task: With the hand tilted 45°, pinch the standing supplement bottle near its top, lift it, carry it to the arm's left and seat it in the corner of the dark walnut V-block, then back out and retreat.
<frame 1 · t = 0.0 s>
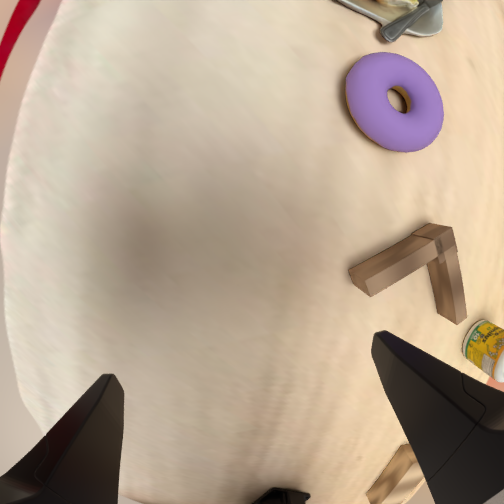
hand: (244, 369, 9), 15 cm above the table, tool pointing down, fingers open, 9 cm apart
donut: (387, 105, 23), on the table
supplement bottle: (474, 338, 29), on the table
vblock: (403, 294, 26), on the table
beam: (395, 469, 32), on the table
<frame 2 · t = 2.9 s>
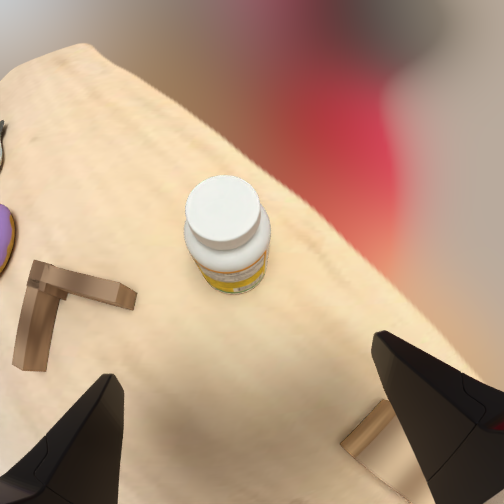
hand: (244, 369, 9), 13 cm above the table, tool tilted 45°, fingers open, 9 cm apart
supplement bottle: (234, 263, 25), on the table
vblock: (81, 337, 22), on the table
beam: (403, 458, 18), on the table
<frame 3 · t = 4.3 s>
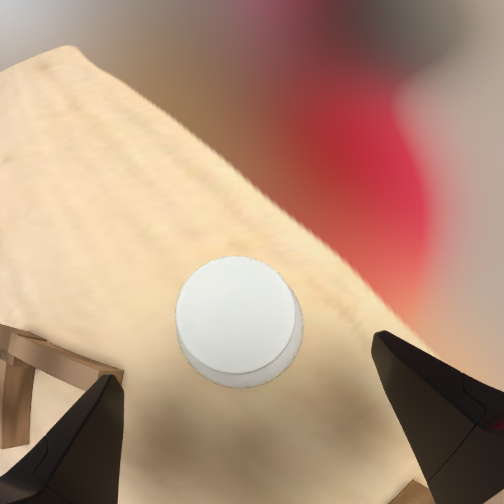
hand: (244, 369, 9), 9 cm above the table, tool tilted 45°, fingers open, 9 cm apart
supplement bottle: (245, 337, 19), on the table
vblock: (63, 414, 16), on the table
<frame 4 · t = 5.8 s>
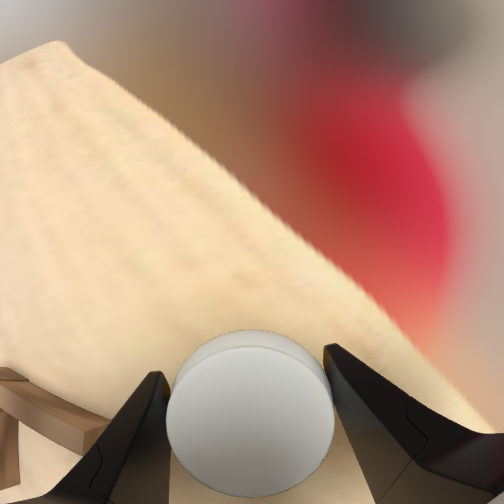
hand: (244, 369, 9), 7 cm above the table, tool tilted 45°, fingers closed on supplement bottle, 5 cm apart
supplement bottle: (253, 389, 15), on the table, touching gripper
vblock: (52, 460, 13), on the table
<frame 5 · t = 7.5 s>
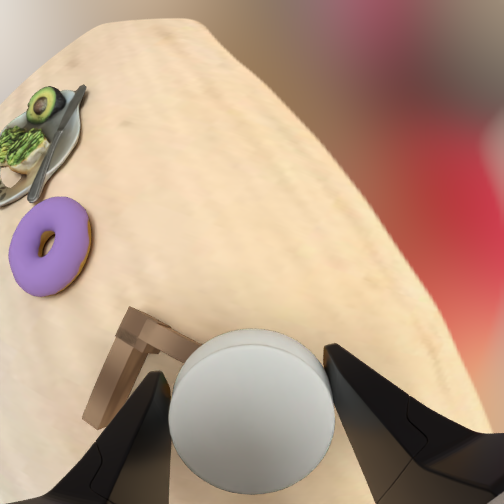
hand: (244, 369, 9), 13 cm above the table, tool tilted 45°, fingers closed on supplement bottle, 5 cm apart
salad plate: (36, 145, 30), on the table
donut: (59, 252, 25), on the table
supplement bottle: (253, 387, 15), point 6 cm above the table, touching gripper
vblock: (174, 400, 21), on the table
when the fingers open (8 cm above the table, at t = 9.6 s): supplement bottle drops 1 cm, on the table.
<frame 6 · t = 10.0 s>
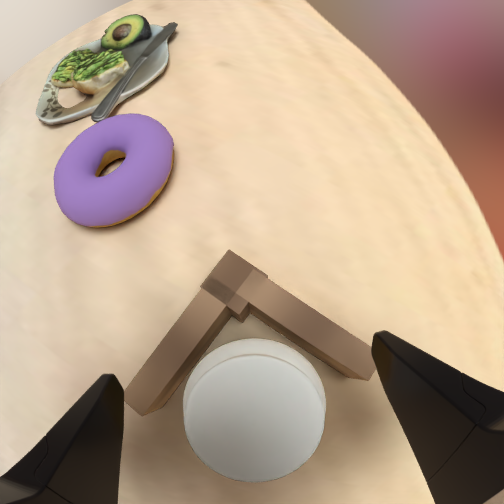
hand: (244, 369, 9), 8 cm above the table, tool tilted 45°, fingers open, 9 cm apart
salad plate: (107, 72, 28), on the table
donut: (120, 180, 22), on the table
supplement bottle: (254, 388, 16), on the table
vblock: (253, 386, 16), on the table
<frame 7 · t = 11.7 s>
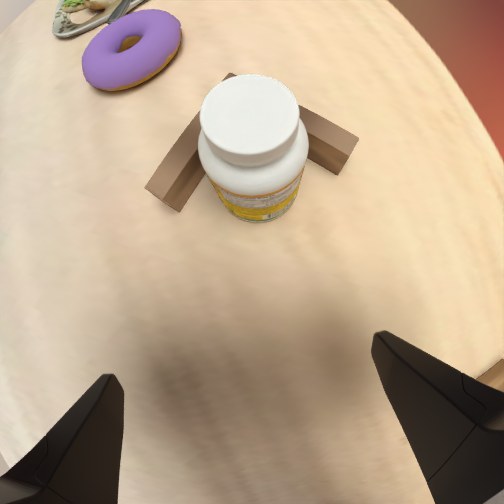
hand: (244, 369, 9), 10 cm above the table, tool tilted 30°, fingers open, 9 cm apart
donut: (138, 59, 23), on the table
supplement bottle: (258, 186, 21), on the table
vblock: (256, 183, 20), on the table
beam: (488, 424, 17), on the table
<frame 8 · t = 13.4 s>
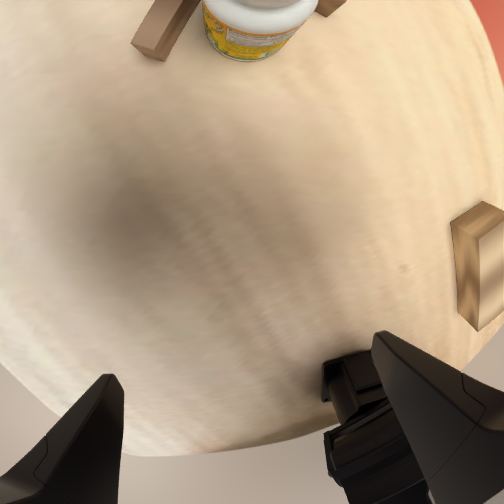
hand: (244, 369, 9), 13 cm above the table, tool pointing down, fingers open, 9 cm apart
supplement bottle: (246, 27, 16), on the table
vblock: (244, 25, 15), on the table
beam: (472, 261, 25), on the table
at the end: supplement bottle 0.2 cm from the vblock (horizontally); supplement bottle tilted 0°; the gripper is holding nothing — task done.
